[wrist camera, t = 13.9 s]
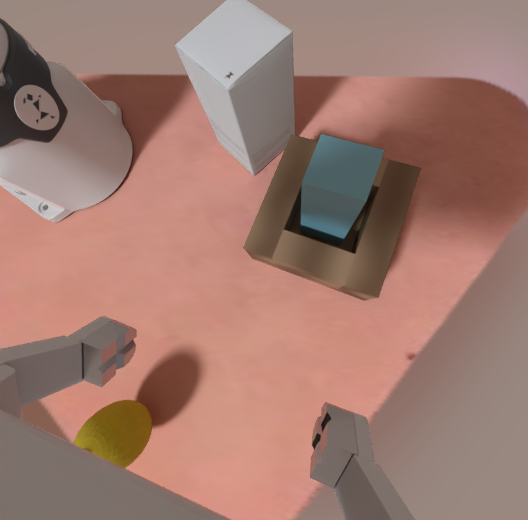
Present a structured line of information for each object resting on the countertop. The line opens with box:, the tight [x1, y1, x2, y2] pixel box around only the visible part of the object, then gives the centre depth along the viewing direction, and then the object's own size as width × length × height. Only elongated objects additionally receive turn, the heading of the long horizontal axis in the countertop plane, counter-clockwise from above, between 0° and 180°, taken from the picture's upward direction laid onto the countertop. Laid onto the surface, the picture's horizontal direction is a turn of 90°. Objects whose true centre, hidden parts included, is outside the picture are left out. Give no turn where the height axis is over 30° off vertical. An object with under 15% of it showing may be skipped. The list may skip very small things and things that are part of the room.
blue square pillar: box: [300, 134, 385, 246], centre depth 23 cm, size 4×4×11 cm
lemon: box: [74, 400, 152, 468], centre depth 23 cm, size 6×6×8 cm
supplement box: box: [175, 0, 295, 176], centre depth 27 cm, size 7×7×13 cm
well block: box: [243, 134, 421, 300], centre depth 27 cm, size 13×13×5 cm
